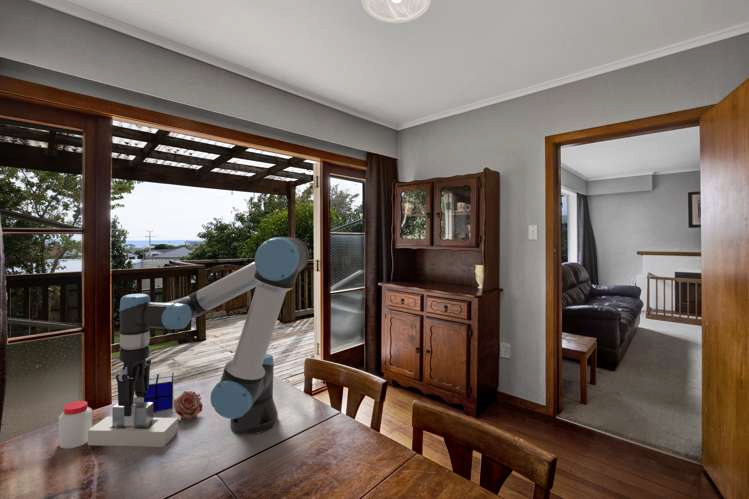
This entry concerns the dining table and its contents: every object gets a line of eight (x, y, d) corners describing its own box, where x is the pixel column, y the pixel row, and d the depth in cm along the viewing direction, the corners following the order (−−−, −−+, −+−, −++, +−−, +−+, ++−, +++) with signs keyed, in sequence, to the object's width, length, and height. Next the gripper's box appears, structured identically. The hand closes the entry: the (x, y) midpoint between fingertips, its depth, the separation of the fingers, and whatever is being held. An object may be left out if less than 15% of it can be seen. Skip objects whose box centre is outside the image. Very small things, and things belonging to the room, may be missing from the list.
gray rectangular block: (152, 433, 114) (153, 402, 113) (146, 440, 110) (146, 407, 110) (120, 432, 113) (120, 401, 113) (112, 439, 110) (112, 406, 109)
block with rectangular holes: (177, 431, 116) (177, 418, 116) (163, 446, 108) (163, 431, 108) (107, 430, 116) (107, 416, 115) (87, 445, 108) (87, 430, 107)
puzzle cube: (139, 414, 126) (139, 386, 125) (142, 402, 135) (142, 375, 134) (172, 409, 131) (172, 381, 130) (173, 397, 139) (173, 371, 139)
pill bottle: (73, 450, 105) (73, 413, 104) (51, 446, 106) (51, 409, 106) (98, 435, 112) (98, 400, 112) (78, 432, 114) (78, 397, 113)
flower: (163, 413, 124) (169, 399, 120) (185, 397, 132) (192, 383, 129) (182, 433, 122) (189, 419, 119) (204, 415, 130) (211, 402, 127)
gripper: (139, 337, 119) (138, 408, 120) (102, 354, 102) (101, 436, 103) (162, 338, 119) (161, 408, 120) (129, 355, 102) (128, 437, 103)
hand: (134, 421), depth 112 cm, fingers closed on gray rectangular block, 3 cm apart
